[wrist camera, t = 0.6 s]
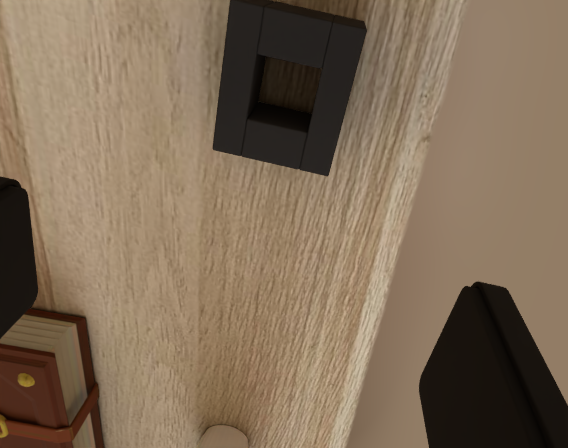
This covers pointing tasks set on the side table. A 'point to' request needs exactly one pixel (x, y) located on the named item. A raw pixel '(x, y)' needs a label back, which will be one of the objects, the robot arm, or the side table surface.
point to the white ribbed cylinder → (223, 438)
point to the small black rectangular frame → (295, 48)
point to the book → (48, 384)
